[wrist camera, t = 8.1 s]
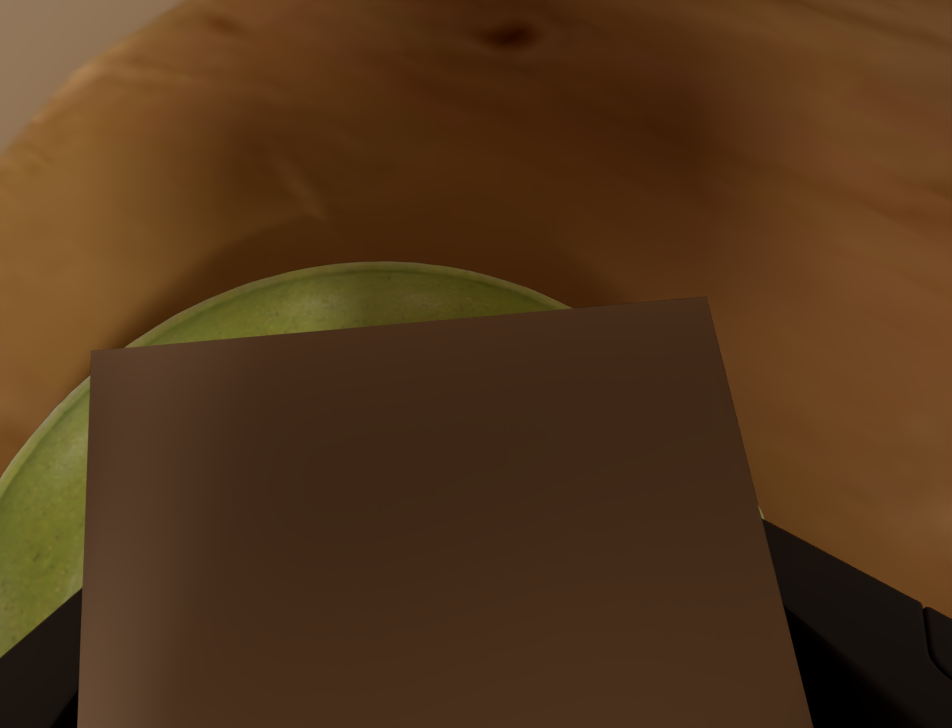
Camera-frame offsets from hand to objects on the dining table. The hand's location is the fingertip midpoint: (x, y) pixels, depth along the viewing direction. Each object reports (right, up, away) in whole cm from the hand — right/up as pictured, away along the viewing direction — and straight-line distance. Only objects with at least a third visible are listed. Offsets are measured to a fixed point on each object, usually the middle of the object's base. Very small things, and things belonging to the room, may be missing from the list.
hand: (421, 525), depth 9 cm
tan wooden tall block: (0, -4, +6) cm, 7 cm away
